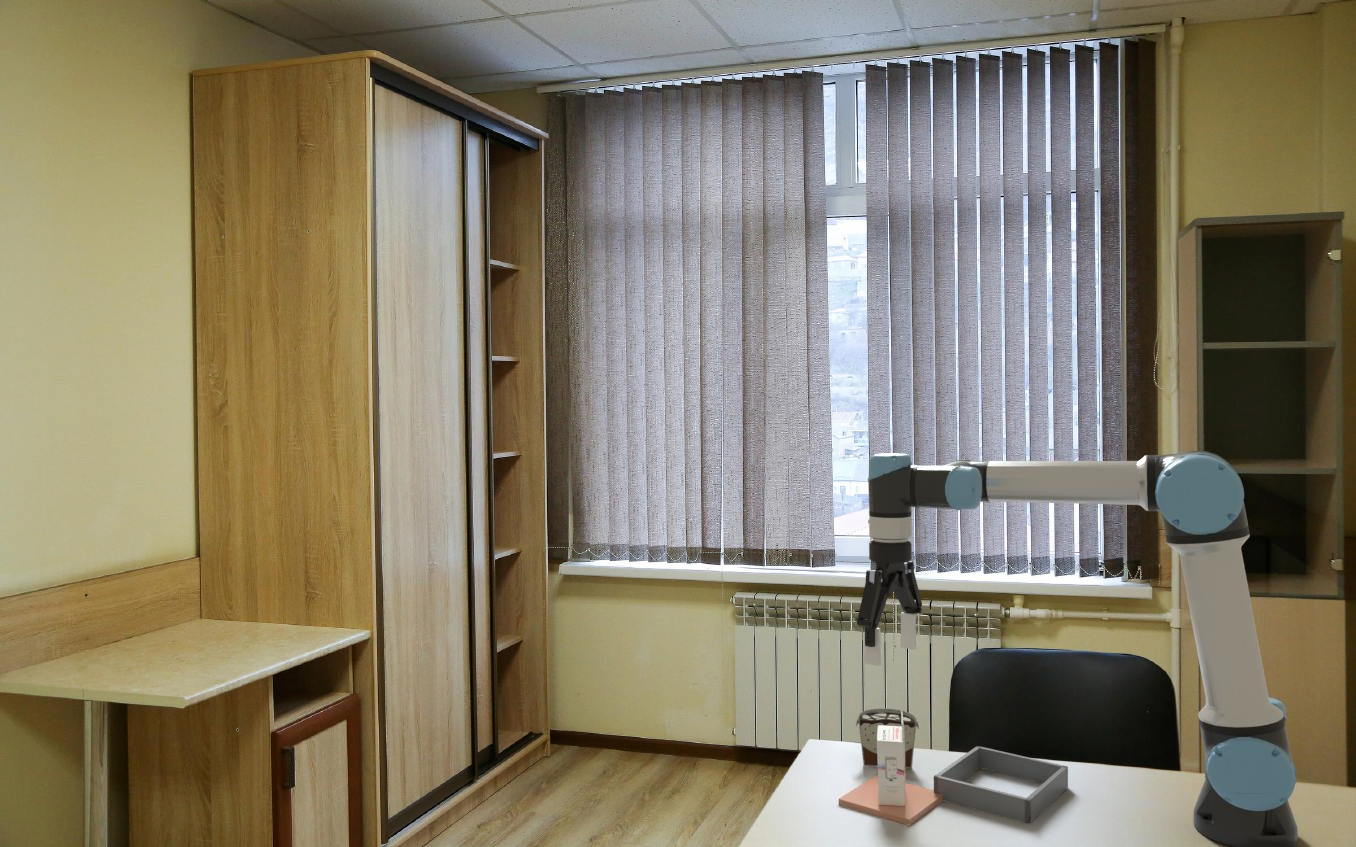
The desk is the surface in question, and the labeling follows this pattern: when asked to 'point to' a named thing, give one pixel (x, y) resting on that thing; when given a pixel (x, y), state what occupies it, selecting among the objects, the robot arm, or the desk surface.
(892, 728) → the ink cartridge box
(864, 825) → the desk surface
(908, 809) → the terracotta tile
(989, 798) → the parts bin
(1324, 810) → the desk surface
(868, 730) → the food container
